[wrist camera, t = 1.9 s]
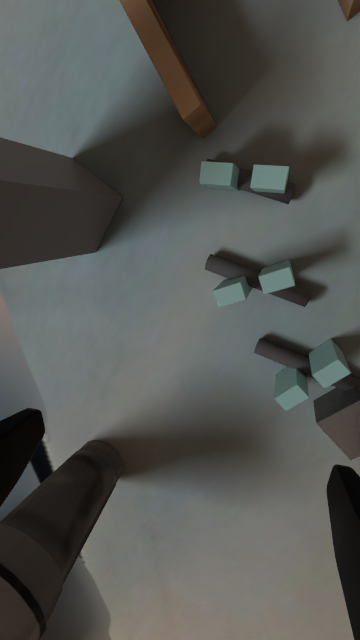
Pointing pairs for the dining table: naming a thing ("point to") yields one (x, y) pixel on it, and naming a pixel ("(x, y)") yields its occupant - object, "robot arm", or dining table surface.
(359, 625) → the robot arm
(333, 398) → the brown grey short block
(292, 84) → the dining table surface
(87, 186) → the tall grey box
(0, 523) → the beverage cup
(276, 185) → the cable clips
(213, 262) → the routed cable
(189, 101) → the end holder
